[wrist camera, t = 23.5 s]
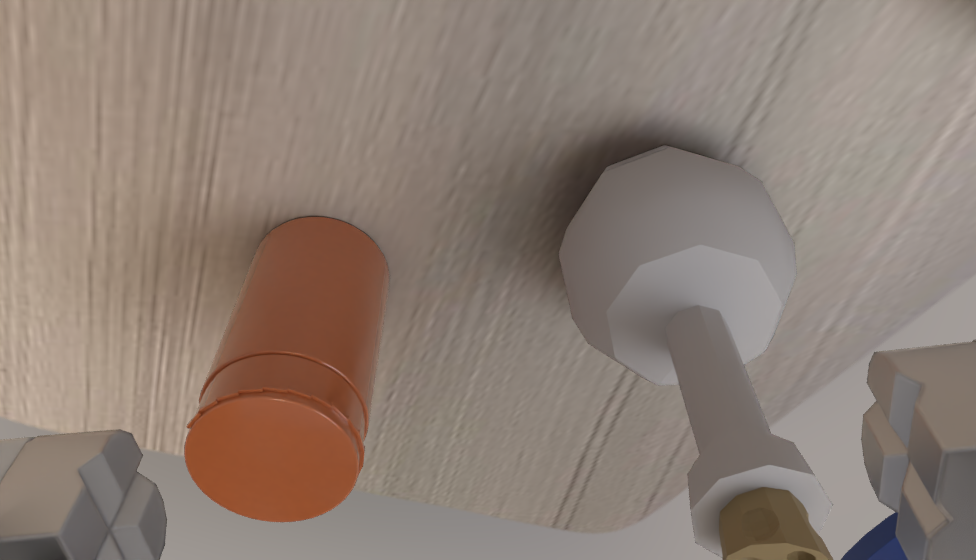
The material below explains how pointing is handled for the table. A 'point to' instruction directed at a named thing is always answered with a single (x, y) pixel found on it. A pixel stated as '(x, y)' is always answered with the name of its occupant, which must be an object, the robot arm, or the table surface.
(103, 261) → the table surface
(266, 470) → the jar
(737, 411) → the potion bottle
